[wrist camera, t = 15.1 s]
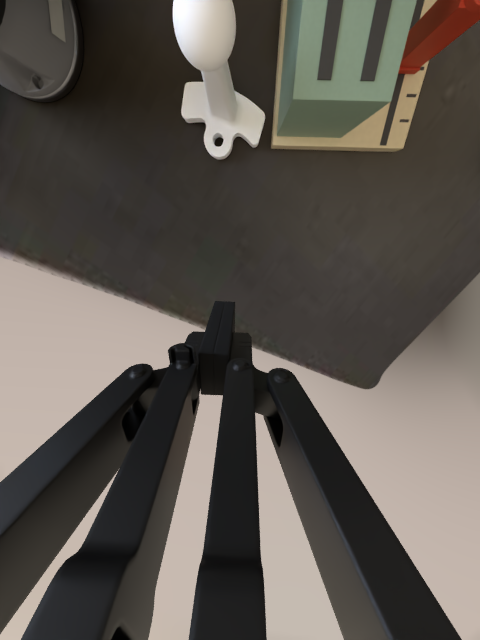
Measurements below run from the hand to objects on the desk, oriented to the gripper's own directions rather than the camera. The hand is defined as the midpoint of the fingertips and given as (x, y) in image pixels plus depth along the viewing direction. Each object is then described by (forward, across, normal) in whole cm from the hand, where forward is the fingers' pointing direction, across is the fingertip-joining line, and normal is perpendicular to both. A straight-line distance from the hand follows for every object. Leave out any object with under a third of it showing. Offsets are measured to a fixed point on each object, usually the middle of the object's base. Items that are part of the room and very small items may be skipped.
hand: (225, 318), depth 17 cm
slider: (+24, +20, +24) cm, 40 cm away
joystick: (+27, -2, +18) cm, 32 cm away
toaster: (+26, +14, +23) cm, 38 cm away
